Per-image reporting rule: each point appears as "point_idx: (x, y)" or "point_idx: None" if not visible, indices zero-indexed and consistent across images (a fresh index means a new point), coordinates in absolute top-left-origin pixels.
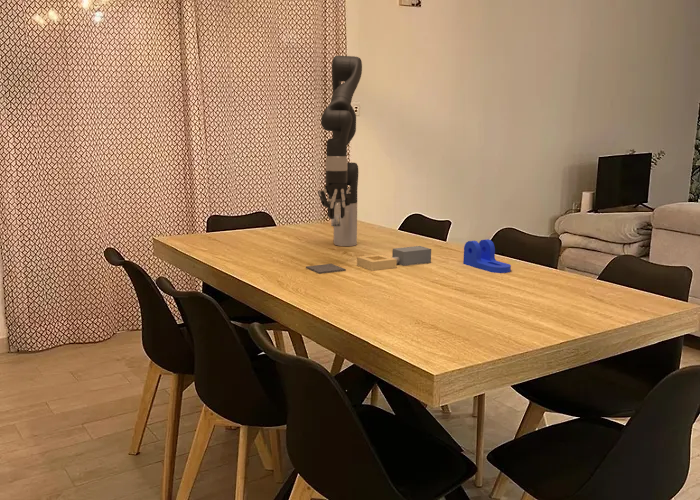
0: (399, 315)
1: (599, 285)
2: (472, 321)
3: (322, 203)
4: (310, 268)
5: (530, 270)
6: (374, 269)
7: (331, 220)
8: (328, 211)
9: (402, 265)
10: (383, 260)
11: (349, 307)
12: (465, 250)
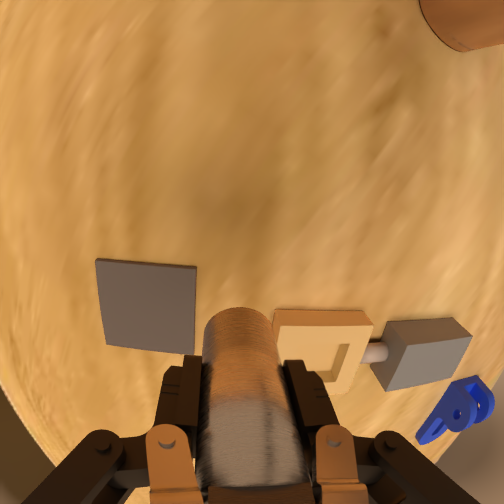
0: (139, 501)
1: None
2: None
3: (77, 457)
4: (98, 292)
5: (449, 430)
6: None
7: (203, 352)
8: (159, 413)
9: (371, 363)
10: None
11: None
12: (463, 403)
